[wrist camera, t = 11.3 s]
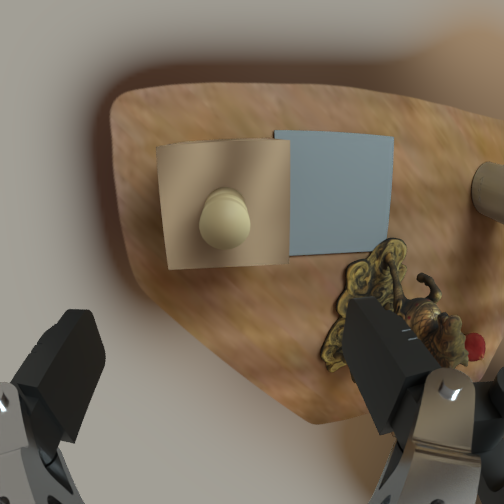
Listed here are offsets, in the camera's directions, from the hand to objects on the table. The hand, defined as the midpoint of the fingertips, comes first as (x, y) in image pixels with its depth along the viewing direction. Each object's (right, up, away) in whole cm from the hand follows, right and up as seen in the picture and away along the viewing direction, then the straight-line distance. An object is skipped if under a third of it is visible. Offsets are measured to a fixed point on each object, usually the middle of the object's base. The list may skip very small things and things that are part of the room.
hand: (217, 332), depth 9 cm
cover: (-2, +11, +27) cm, 30 cm away
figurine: (+18, -7, +36) cm, 41 cm away
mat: (+12, +10, +29) cm, 33 cm away
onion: (+45, -15, +42) cm, 64 cm away
